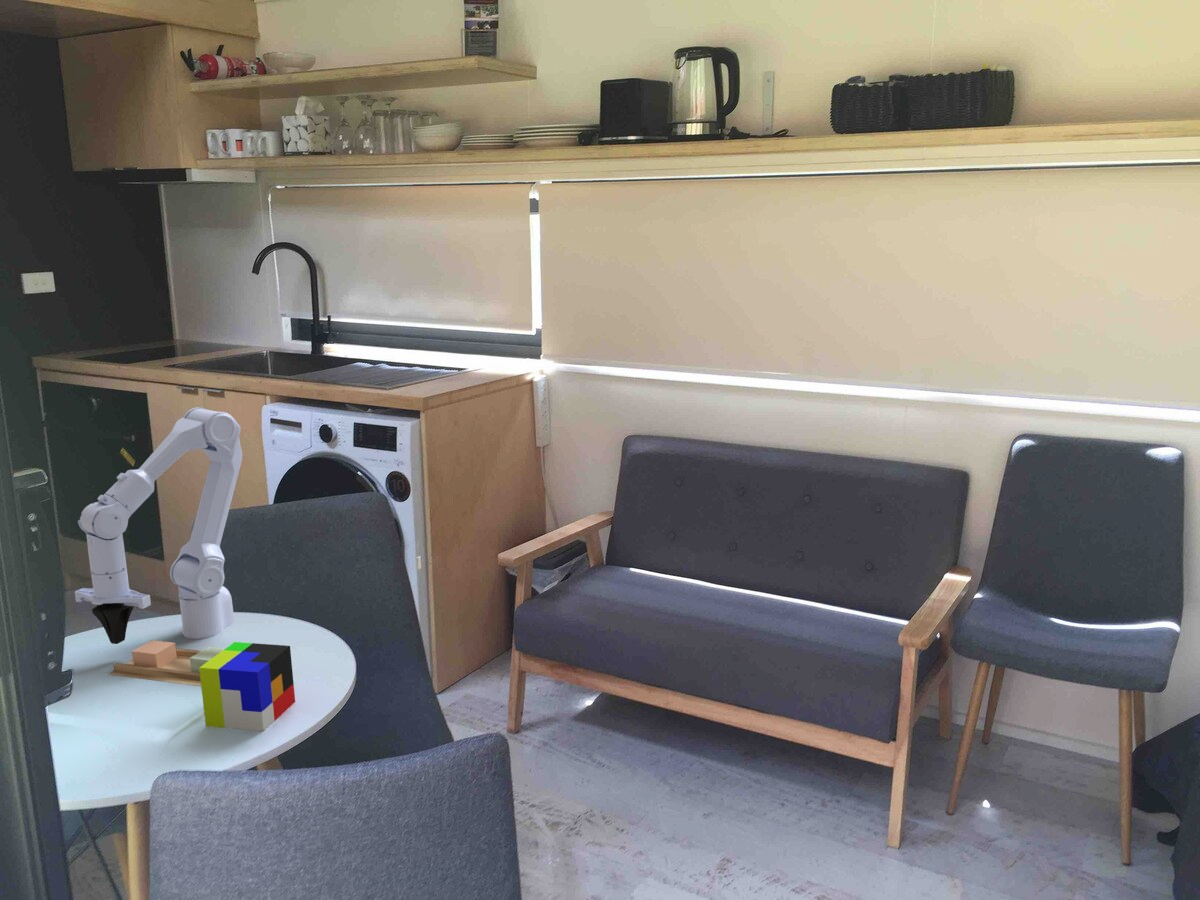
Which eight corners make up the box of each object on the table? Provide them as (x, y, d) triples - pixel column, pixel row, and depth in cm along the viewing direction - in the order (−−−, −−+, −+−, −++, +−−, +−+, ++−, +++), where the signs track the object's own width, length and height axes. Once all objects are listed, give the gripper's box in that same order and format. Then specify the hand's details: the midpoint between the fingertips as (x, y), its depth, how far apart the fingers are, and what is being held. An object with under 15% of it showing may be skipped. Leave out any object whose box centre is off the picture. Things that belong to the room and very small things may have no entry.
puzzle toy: (263, 731, 155) (257, 672, 152) (205, 726, 157) (199, 667, 154) (295, 702, 164) (290, 645, 162) (240, 697, 166) (234, 641, 164)
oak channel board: (156, 652, 185) (153, 631, 184) (278, 666, 177) (276, 644, 177) (108, 680, 173) (105, 658, 172) (236, 696, 166) (234, 673, 165)
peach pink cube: (153, 655, 180) (151, 640, 180) (176, 658, 179) (175, 642, 178) (133, 667, 176) (131, 651, 175) (157, 670, 174) (155, 654, 174)
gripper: (57, 573, 174) (67, 646, 177) (126, 580, 170) (135, 654, 173) (88, 561, 181) (97, 631, 183) (155, 567, 177) (163, 638, 179)
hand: (117, 641), depth 179 cm, fingers closed
